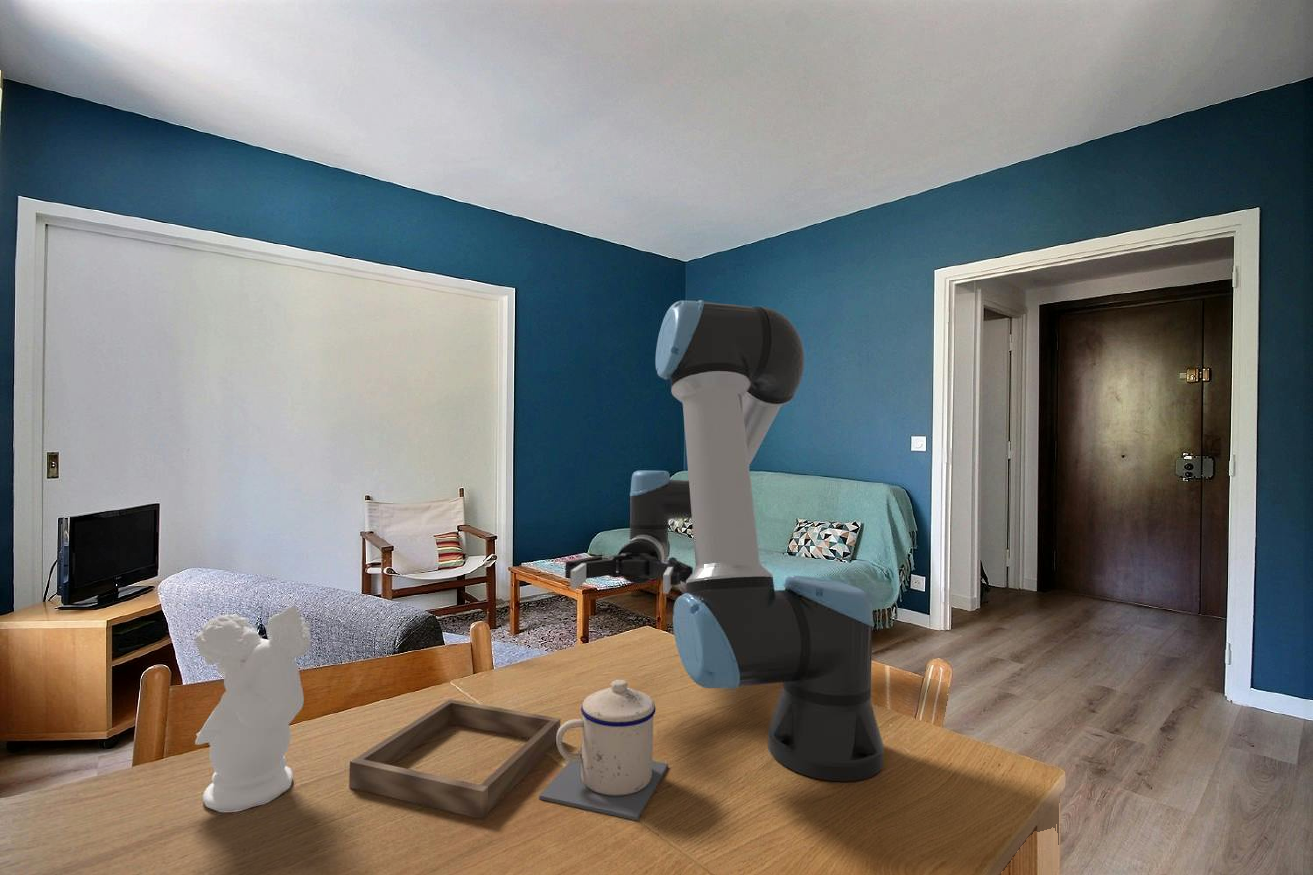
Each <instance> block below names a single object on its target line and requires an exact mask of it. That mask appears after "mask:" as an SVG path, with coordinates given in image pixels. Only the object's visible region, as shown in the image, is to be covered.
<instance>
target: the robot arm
mask: <svg viewBox="0 0 1313 875" xmlns="http://www.w3.org/2000/svg"><path fill="white" fill-rule="evenodd" d="M660 326H661V327H660V330H659V333H658V338H657V342H656V350H655V371H656V372H657V373H656V374H657V375H658V377H659V378H661V379H663V380H665V381H666V380H670V390H671V391H670V392H671V394H672V396H673V397H674V398H675V399H676V400H677V401H679V402H680V403H682V409H683V410H682V411H683V424H684V434H685V435H684V436H685V449H686V459H687V460H686V461H687V463H686V464H687V473H688V474H687V475H688V480H680V479H679V480H677V479H675V480H674V479H671V476H670V472H669V471H667V470H636V471H634V472H633V473H632V475H631V482H630V492H629V496H630V500H629V502H630V503H629V504H630V507H629V508H630V518H629V520H630V521H629V523H630V526H629V541H627V543H625V544H624V545H623V546H622V547H621V548H620V550H619V551H618V553H617V554H615V555H614V554H613V555H610V556H609V557H608V558H606V556H605V555H604V554H602V553H599V554H597V555H594V556H591V557H586V558H579V559H574V560H568V561H565V572H564V573H565V574H564V576H565V579H569V580H570V584H569V586H570V590H577V589H579V587H580V586H582V585H583V584H585V583H586V582H587V579H594V578H601V577H607V576H608V577H609V578H614V579H615V578H621V577H622V578H623V579H624V580H626V581H627V582H629V583H632V584H635V585H641V584H643V585H644V584H645V583H646V584H647V583H649V582H650V581H651V580H655V579H656V580H657V579H658V580H661V581H662V594H663V595H669V594H670V591H671V589H672V587H673V586H678V585H680V584H681V582H682V583H684V584H685V589H686V590H685V591H686V592H685V593H683V594H682V595H680V596H678V597H677V598H676V600H675V601H674V605H673V615H672V626H673V634H674V640H675V645H676V649H677V652H678V655H679V658H680V661H681V663H682V665H683V667H684V669H685V671H686V673H687V674H688V676H689V678H690V679H691V680H692V681H693V682H694V683H696V684H697V685H698V686H699V687H701V688H705V689H729V690H735V689H737V688H739V687H740V688H741V687H747V686H759V685H768V684H777V683H780V684H781V683H782V687H781V693H780V694H779V698H778V700H777V703H776V707H775V709H774V712H773V715H772V717H771V720H770V723H769V726H768V730H767V732H768V733H767V737H768V738H767V747H768V750H769V753H770V755H771V756H772V757H773V758H774V760H776V761H777V762H778V763H780V764H781V765H783V767H786V768H787V769H790V770H792V771H794V772H795V773H798V774H801V775H804V776H806V777H807V776H808V777H810V778H814V779H819V780H824V781H830V782H831V781H832V782H857V781H861V780H865V779H868V778H869V779H870V778H871V777H874V776H875V775H877V774H878V773H879V772H880V771H881V770H882V769H883V766H884V742H883V739H882V736H881V732H880V729H879V726H878V725H879V724H878V722H877V719H876V715H875V712H874V708H873V706H872V700H871V698H872V697H871V694H872V663H873V662H872V656H873V628H874V626H875V623H874V618H873V617H874V616H873V613H874V612H873V603H872V599H871V597H870V595H869V594H868V593H867V592H865V591H864V590H862V589H861V588H858V587H856V586H854V585H852V584H847V583H844V582H841V581H835V580H831V579H827V578H822V577H821V578H820V577H814V576H807V575H805V576H804V575H791V576H787V577H786V578H785V581H784V583H783V588H784V589H781V590H779V589H777V590H776V589H775V584H774V575H773V574H772V573H771V572H770V571H769V570H767V568H765V567H764V565H762V563H761V561H760V553H759V545H758V536H757V527H756V526H757V525H756V517H755V516H756V515H755V508H754V500H753V499H754V498H753V491H752V481H751V474H750V465H751V463H752V461H753V460H754V458H755V456H756V454H757V452H758V450H759V448H760V446H761V445H762V443H763V440H764V439H765V437H766V435H767V433H768V431H770V430H769V429H770V428H771V426H772V424H773V422H774V420H775V418H776V416H777V414H778V413H779V411H780V409H781V407H782V405H786V404H788V403H789V402H791V401H792V400H793V398H794V396H795V394H796V392H797V390H798V388H799V386H800V383H801V381H802V379H803V374H804V368H805V367H804V366H805V353H804V352H805V351H804V346H803V342H802V338H801V337H800V335H799V333H798V331H797V329H796V327H795V326H794V324H793V323H792V322H791V321H790V320H789V319H788V317H787V316H785V315H783V314H782V313H781V312H779V311H777V310H775V309H772V308H769V307H765V306H750V305H748V306H747V305H739V304H729V303H717V302H716V303H715V302H708V301H704V300H703V299H699V300H698V301H697V300H679V301H676V302H674V303H673V304H671V306H670V307H669V308H668V310H667V311H666V313H665V315H664V317H663V320H662V322H661V325H660ZM671 519H672V520H676V519H677V520H680V519H682V520H683V519H691V523H692V524H691V525H692V535H693V536H692V538H693V548H694V560H695V568H693V566H690V565H688V564H686V563H684V562H681V561H679V560H677V558H676V557H670V549H671V543H670V541H669V529H670V528H669V527H670V526H669V521H670V520H671ZM693 569H694V570H693Z"/></svg>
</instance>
